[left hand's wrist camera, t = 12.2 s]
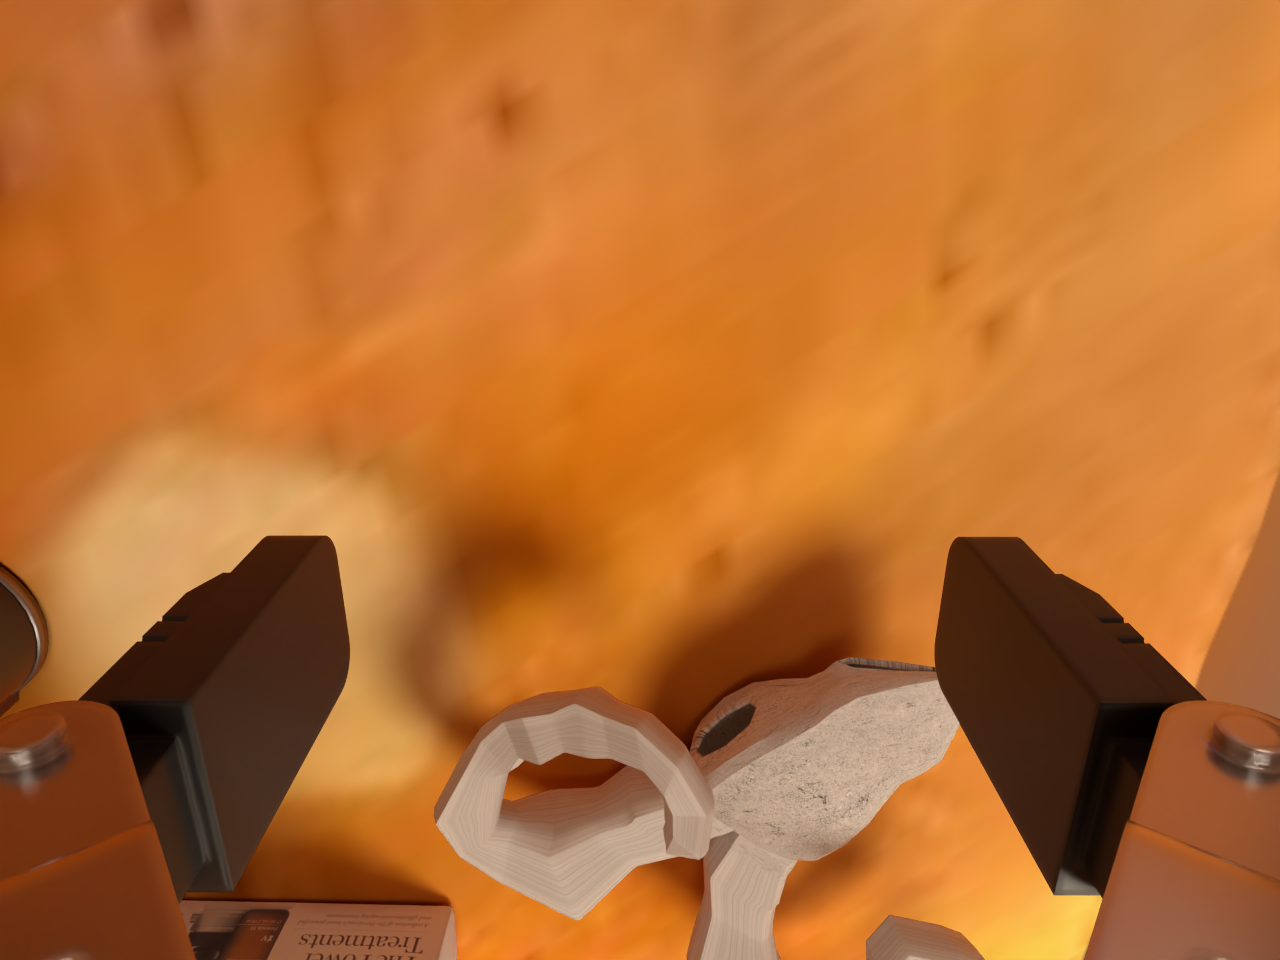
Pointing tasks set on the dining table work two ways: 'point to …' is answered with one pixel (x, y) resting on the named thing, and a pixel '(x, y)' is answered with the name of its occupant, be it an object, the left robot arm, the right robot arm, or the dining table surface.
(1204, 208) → the dining table surface
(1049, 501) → the dining table surface
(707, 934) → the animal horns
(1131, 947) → the left robot arm
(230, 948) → the skincare box
